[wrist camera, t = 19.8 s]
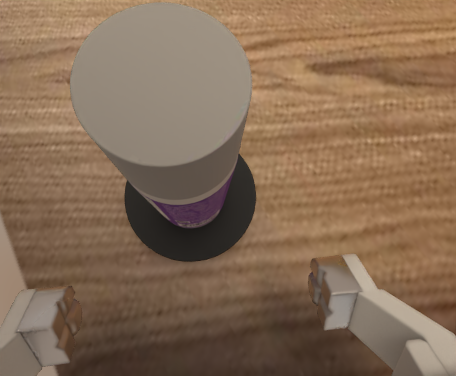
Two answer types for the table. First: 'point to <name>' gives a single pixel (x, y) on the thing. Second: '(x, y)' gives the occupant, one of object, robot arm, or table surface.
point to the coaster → (201, 236)
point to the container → (166, 105)
